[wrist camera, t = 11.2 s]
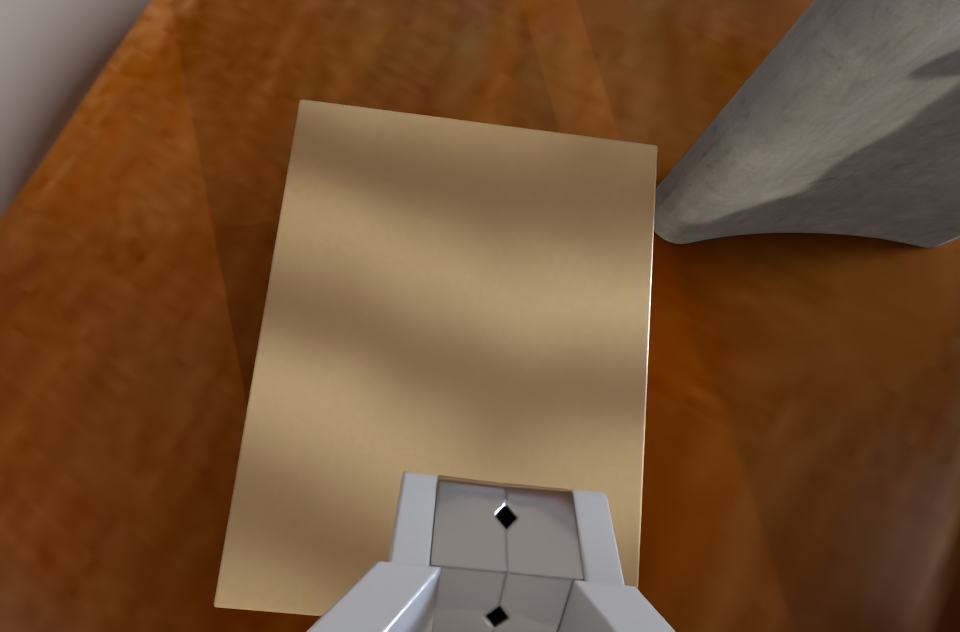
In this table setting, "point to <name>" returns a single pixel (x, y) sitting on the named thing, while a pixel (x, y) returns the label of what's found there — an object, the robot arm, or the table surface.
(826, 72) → the hip flask
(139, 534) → the table surface
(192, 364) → the table surface
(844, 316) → the table surface
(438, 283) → the lid
